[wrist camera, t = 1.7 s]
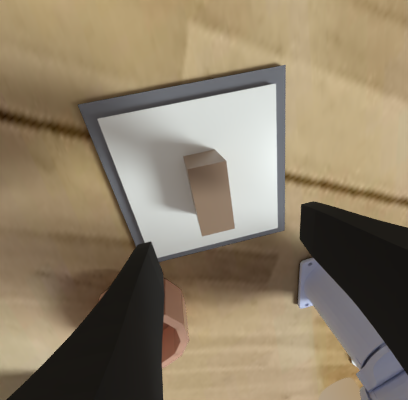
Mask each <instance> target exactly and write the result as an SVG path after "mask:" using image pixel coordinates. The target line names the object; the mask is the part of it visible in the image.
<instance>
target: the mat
mask: <svg viewBox="0 0 408 400" xmlns="http://www.w3.org/2000/svg"><path fill="white" fill-rule="evenodd" d="M270 84H276V123H277V204H278V228H275V229H271V230H267V231H263V232H259V233H255V234H251V235H247V236H243V237H239V238H235V239H232V240H228V241H224V242H220V243H216V244H212V245H208V246H204V247H200V248H196V249H192V250H188V251H184V252H180V253H176V254H172V255H168V256H164V257H160V258H158V261H159V262H161V261H165V260H169V259H173V258H177V257H181V256H185V255H189V254H193V253H197V252H201V251H205V250H209V249H213V248H217V247H221V246H225V245H229V244H233V243H237V242H241V241H245V240H249V239H252V238H256V237H260V236H264V235H268V234H272V233H276V232H280V231H284V230H285V65H283V66H277V67H272V68H267V69H262V70H256V71H251V72H246V73H241V74H236V75H230V76H225V77H220V78H215V79H209V80H204V81H199V82H194V83H189V84H183V85H178V86H173V87H168V88H162V89H157V90H152V91H147V92H142V93H136V94H131V95H126V96H121V97H115V98H110V99H105V100H100V101H95V102H89V103H84V104H79V105H78V107H79V109H80V112H81V114H82V116H83V119H84V121H85V124H86V126H87V129H88V131H89V133H90V136H91V138H92V141H93V143H94V146H95V148H96V150H97V153H98V155H99V158H100V160H101V162H102V165H103V167H104V170H105V172H106V175H107V177H108V179H109V182H110V184H111V187H112V189H113V192H114V194H115V196H116V199H117V201H118V204H119V206H120V209H121V211H122V213H123V216H124V218H125V221H126V223H127V226H128V228H129V230H130V233H131V235H132V238H133V240H134V242H135V245H136V247H137V245H138V244H142V243H145V242H144V240H143V237H142V234H141V232H140V229H139V226H138V224H137V221H136V219H135V216H134V213H133V211H132V208H131V206H130V203H129V200H128V198H127V195H126V193H125V190H124V187H123V185H122V182H121V180H120V177H119V174H118V172H117V169H116V167H115V164H114V161H113V159H112V156H111V154H110V151H109V148H108V146H107V143H106V141H105V138H104V135H103V133H102V130H101V128H100V125H99V122H98V120H97V119H99V118H103V117H108V116H113V115H118V114H123V113H128V112H134V111H139V110H144V109H149V108H154V107H159V106H164V105H169V104H174V103H179V102H184V101H189V100H194V99H199V98H204V97H209V96H215V95H220V94H225V93H230V92H235V91H240V90H245V89H250V88H255V87H260V86H265V85H270Z"/></svg>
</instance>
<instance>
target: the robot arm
mask: <svg viewBox="0 0 408 400" xmlns="http://www.w3.org/2000/svg"><path fill="white" fill-rule="evenodd" d="M300 240H301V241H302V243H303V244H304V246H305V247H306V249H307V250H308V252H309V253H310V254H311V256H312V257H313V258H310V259H306V260H303V261H301V263H300V273H299V292H298V306H299V308H306V307H309V306H314V307H315V309H316V310H317V311H318V313H319V314H320V316H321V317H322V318H323V320H324V321H325V323H326V324H327V325H328V327H329V328H330V330H331V331H332V332H333V334H334V335H335V336H336V338H337V339H338V341H339V342H340V343H341V345H342V346H343V348H344V349H345V350H346V352H347V353H348V355H349V356H350V357H351V359H352V360H353V361H354V363H355V364H356V366H357V367H358V368H359V370H360V371H359V372H358V373H356V375H357V377H358V378H359V380H360V381H361V383H362V384H363V385H364V386H363V387H361V388H360V396H361V400H408V228H407V227H403V226H399V225H395V224H391V223H387V222H383V221H380V220H376V219H372V218H369V217H366V216H362V215H359V214H356V213H352V212H349V211H346V210H342V209H339V208H336V207H333V206H329V205H326V204H322V203H318V202H309V203H305V204H301V222H300ZM164 297H165V294H164V279H163V272H162V269H161V267H160V264H159V261H158V258H157V256H156V253H155V250H154V248H153V245H152V242H151V241H150V242H146V243H142V244H138V245H137V247H136V248H135V250H134V251H133V253H132V254H131V256H130V257H129V259H128V260H127V262H126V264H125V265H124V267H123V268H122V270H121V271H120V273H119V274H118V276H117V277H116V279H115V280H114V282H113V283H112V285H111V286H110V287H109V289H108V290H107V291H106V293H105V294H104V295H103V297H102V298H101V299H100V301H99V302H98V304H97V305H96V306H95V307H94V309H93V310H92V311H91V312H90V314H89V315H88V316H87V317H86V318H85V319H84V321H83V322H82V323H81V324H80V325H79V326H78V328H77V329H76V330H75V331H74V332H73V333H72V334H71V336H70V337H69V338H68V339H67V340H66V341H65V342H64V343H63V344H62V345H61V346H60V347H59V348H58V349H57V350H56V351H55V352H54V354H53V355H52V356H51V357H50V358H49V359H48V360H47V361H46V362H45V363H44V364H43V365H42V366H41V367H40V368H39V369H38V370H37V371H36V372H35V373H34V374H33V375H32V376H31V377H30V378H29V379H28V380H27V381H26V382H25V383H24V384H23V385H22V386H21V387H20V388H19V389H18V390H16V391H15V392H14V393H13V394H12V395H11V396H10V397H9V398H8V399H7V400H163V384H162V338H163V319H164Z"/></svg>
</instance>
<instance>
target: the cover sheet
mask: <svg viewBox="0 0 408 400" xmlns="http://www.w3.org/2000/svg"><path fill="white" fill-rule="evenodd" d="M97 120H98V122H99V125H100V128H101V130H102V133H103V135H104V138H105V141H106V143H107V146H108V148H109V151H110V154H111V156H112V159H113V161H114V164H115V167H116V169H117V172H118V174H119V177H120V180H121V182H122V185H123V187H124V190H125V193H126V195H127V198H128V200H129V203H130V206H131V208H132V211H133V213H134V216H135V219H136V221H137V224H138V226H139V229H140V232H141V234H142V237H143V240H144V242H145V243H146V242H150V241H151V242H152V245H153V248H154V250H155V253H156V256H157V258H160V257H164V256H168V255H172V254H176V253H180V252H184V251H188V250H192V249H196V248H200V247H204V246H208V245H212V244H216V243H220V242H224V241H228V240H232V239H235V238H239V237H243V236H247V235H251V234H255V233H259V232H263V231H267V230H271V229H275V228H278V204H277V123H276V84H270V85H265V86H260V87H255V88H250V89H245V90H240V91H235V92H230V93H225V94H220V95H215V96H209V97H204V98H199V99H194V100H189V101H184V102H179V103H174V104H169V105H164V106H159V107H154V108H149V109H144V110H139V111H134V112H128V113H123V114H118V115H113V116H108V117H103V118H99V119H97Z"/></svg>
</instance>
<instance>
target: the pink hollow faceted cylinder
mask: <svg viewBox="0 0 408 400" xmlns="http://www.w3.org/2000/svg"><path fill="white" fill-rule="evenodd" d="M163 279H164V278H163ZM108 289H109V288H108ZM108 289H107V290H108ZM107 290H106V291H107ZM106 291H105V292H104V293H102V294H101V295H100V298H99V301H100V299H101V298H102V297H103V295H104V294H105V293H106ZM164 294H165V297H164V319H163V338H162V368H164V367H166V366H167V365H169V364H170V363H172V362H173V361H175V360H176V359H178V358H179V357H180V356H181V355H182V354H183V352H184V350H185V348H186V346H187V344H188V342H189V332H188V322H187V312H186V303H185V300H184V297H183V294H182V291H181V289H180V288H178V287H177V286H175V285H174V284H172V283H171V282H170V281H168V280H167V279H164ZM99 301H98V302H99Z"/></svg>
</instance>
